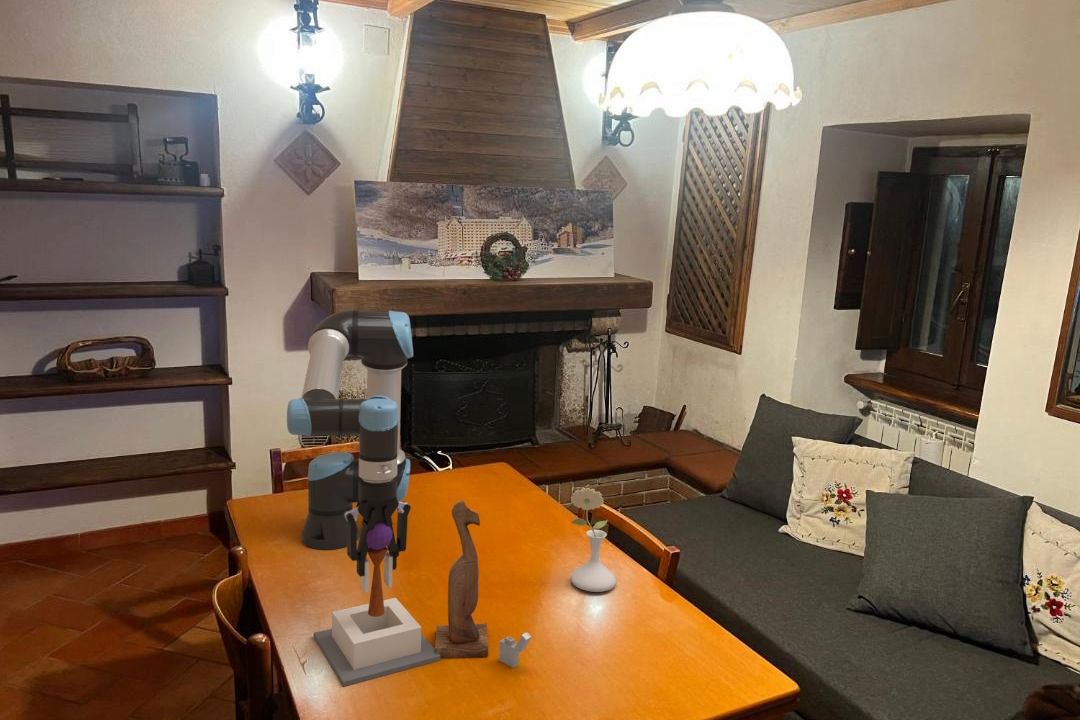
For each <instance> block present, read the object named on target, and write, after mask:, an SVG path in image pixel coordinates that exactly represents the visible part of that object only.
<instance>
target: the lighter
mask: <svg viewBox="0 0 1080 720" xmlns="http://www.w3.org/2000/svg"><path fill="white" fill-rule="evenodd" d="M531 639H532V636H531V634H530V633H529V632H524V633H523V634H521V635H520V638H519V640H518V641H517V643H516V641H515V640H516V639H514V638H513V637H511V636H505V637H504V638H502V639H500V640H499V649H498V661H499V662H501V663H502V664H505V665H507V666H509V667H510V668H513V669H514V668H516V667H518V666H519V665H520V664H519V660H520V653H522V652H524V651H526V648H527V646H528V644H529V642H530V641H531Z"/></svg>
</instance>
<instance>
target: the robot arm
mask: <svg viewBox="0 0 1080 720" xmlns="http://www.w3.org/2000/svg"><path fill="white" fill-rule="evenodd" d="M412 335H413V334H412V329H411V320H410V317H409V315H408V314H407V313H406V312H404V311H395V310H394V311H393V310H362V309H361V310H360V309H359V310H357V309H355V310H354V309H346V310H345V309H344V310H341V311H337V312H335V313H332V314H330V315H328V316H327V317H326V318H324V319H323V320H321V321H320V322H319V323H318V324H317V325H316V326H314V328H313V330H312V331H311V333H310V336H309V338H308V343H307V350H308V353H309V360H308V364H307V369H306V374H305V378H304V385H303V389H302V394H301V397H299V398H293V399H291V400H289V401H288V404H287V410H286V411H287V412H286V425H287V428H286V429H287V431H288V433H289V434H291V435H293V436H305V437H310V436H311V437H312V436H315V437H316V436H358V441H359V442H358V444H359V445H358V447H359V448H358V449H359V450H358V451H359V453H358V459H357V458H356V459H355V456H354V455H353V454H352V453H350V452H345V451H335V452H329V453H325V454H322V455H319V456H316V457H315V458H314V459H312V460H311V461H310V462H309V464H308V471H307V472H308V474H307V480H308V481H307V482H308V483H307V484H308V485H307V487H308V490H307V491H308V495H307V497H308V501H307V502H308V503H307V506H308V507H307V508H308V510H307V511H308V513H307V515H306V519H305V521H304V523H303V527H302V530H301V542H302V544H303V545H304V546H306V547H308V548H311V549H315V550H324V551H325V550H327V551H328V550H338V549H343V548H346V554H347V557H348V558H349V559H350V560H351V561H353V562H355V561H356V573H357V575H358V576H359V577H360V588H361V589H362V590H363V592H364V593H366V594H367V593H369V592H370V560H369V559H368V558H367V555H368V552H367V551H368V548H369V546H368V544H367V542H366V535H367V533H368V531H369V530H371V529H374V525H375V524H376V523H379V522H380V523H381V522H382V523H384V522H386V525H387V526H390V528H391V530H392V539H391V541H390V543H389V544H388V545H387V546H386V547H387V548H388V550H387V552H386V554H385V556H384V558H383V561H384V563H383V583H384V584H385V586H387V588H388V589H389V588H393V570H397V565H398V564H397V563H398V557H399V556H400V553H401V552H405V551H406V550H407V541H408V540H407V538H408V537H407V536H408V535H407V534H408V520H409V519H408V516H409V514H410V511H411V508H412V506H411V505H410V504H409V503H408V502H407V501H403V500H404V499H405V497H406V495H407V493H408V488H409V482H410V473H411V460H410V459H409V458H406V453H405V452H404V451H403V450H402V449H401V448H400V447H401V445H400V444H401V443H400V442H401V441H400V439H401V402H402V401H401V397H402V392H401V391H402V370H403V369H404V368H405V367H407V365H408V359H410V358H413V357H414V348H413V347H414V346H413V337H412ZM347 357H359V358H361V361H360V363H361V365H362V366H363V367H364V368H365V369H366V370H367V372H366V376H367V379H366V382H367V384H366V386H367V389H366V391H367V392H366V394H367V395H366V399H365V398H362V399H361V398H356V399H355V398H350V399H347V398H345V399H344V398H339V396H340V389H341V388H340V387H341V382H342V380H341V378H342V371H343V365H344V360H345V359H346V358H347ZM354 503H356V506H355V507H353V505H354ZM396 511H397V517H396V519H397V521H396V536H395V533H394V527H393V520H392V516H393V514H394V513H395V512H396ZM358 515H360V516H361V517H362V521H361V524H362V525H361V526H362V527H361V532H360V528H359V525H358V522H357V520H358ZM363 534H364V535H363Z"/></svg>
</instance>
